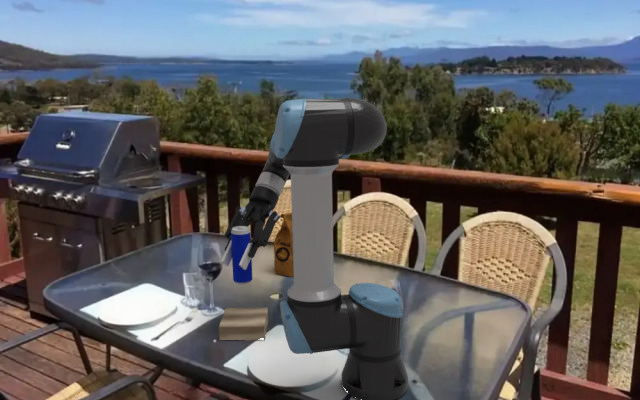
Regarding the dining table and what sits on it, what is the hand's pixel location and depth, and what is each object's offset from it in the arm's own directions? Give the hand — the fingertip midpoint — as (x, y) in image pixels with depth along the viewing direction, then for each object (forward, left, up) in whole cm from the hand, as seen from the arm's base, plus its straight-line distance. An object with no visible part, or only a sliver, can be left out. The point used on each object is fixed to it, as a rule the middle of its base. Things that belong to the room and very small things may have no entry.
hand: (233, 265), depth 150 cm
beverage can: (+3, -2, -6) cm, 7 cm away
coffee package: (+49, -13, -20) cm, 55 cm away
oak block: (+3, -2, -20) cm, 21 cm away
